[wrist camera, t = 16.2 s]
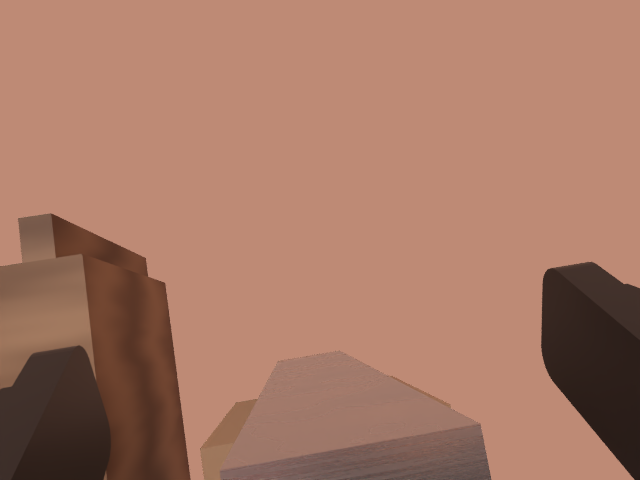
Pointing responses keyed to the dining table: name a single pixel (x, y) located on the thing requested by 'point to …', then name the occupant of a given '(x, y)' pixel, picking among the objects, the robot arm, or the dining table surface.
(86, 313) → the beam stand
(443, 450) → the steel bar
